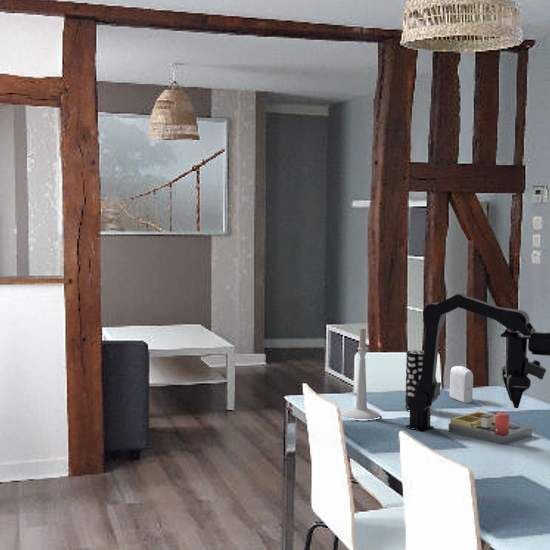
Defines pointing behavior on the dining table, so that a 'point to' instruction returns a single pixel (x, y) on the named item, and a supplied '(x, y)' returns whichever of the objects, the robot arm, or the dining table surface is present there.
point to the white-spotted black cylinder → (413, 373)
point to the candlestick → (361, 387)
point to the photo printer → (461, 384)
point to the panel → (486, 429)
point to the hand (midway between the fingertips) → (514, 404)
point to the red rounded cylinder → (502, 423)
